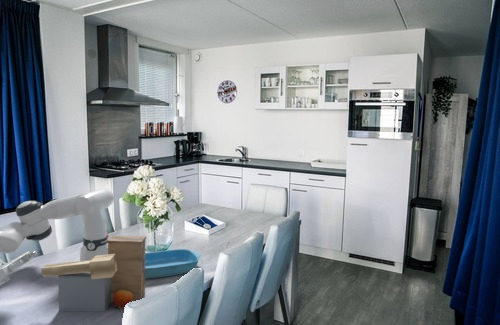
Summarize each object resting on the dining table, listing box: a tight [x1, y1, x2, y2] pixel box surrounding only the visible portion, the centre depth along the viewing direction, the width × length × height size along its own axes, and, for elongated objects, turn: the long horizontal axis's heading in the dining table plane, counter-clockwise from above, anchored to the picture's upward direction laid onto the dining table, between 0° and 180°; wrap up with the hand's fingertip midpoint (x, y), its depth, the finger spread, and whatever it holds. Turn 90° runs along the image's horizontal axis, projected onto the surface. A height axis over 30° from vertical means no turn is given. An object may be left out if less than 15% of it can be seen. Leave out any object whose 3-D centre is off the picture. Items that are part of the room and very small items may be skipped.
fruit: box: [112, 290, 134, 311], centre depth 150 cm, size 8×8×8 cm
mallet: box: [41, 254, 117, 279], centre depth 144 cm, size 7×28×7 cm
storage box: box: [57, 272, 112, 312], centre depth 148 cm, size 8×18×14 cm, turn 93°
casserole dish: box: [145, 248, 201, 280], centre depth 188 cm, size 37×22×7 cm, turn 118°
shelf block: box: [107, 234, 147, 301], centre depth 158 cm, size 7×14×26 cm, turn 93°
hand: (29, 257), depth 144 cm, fingers open, 8 cm apart
